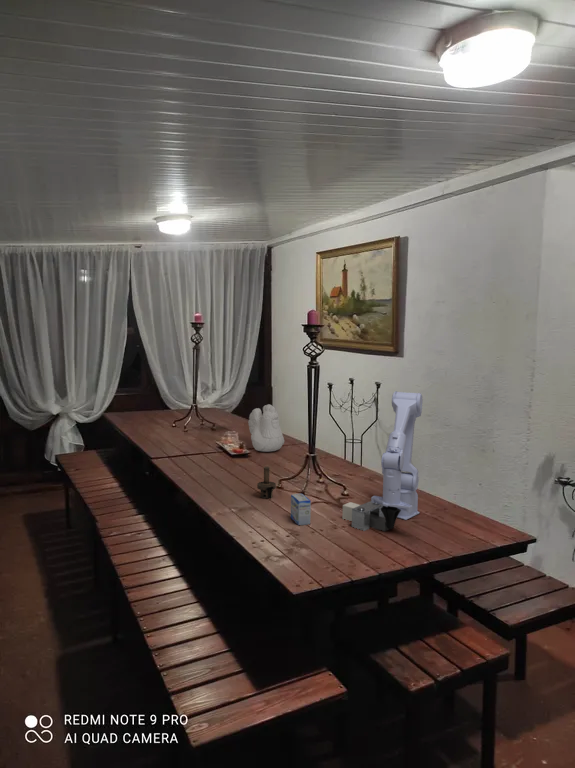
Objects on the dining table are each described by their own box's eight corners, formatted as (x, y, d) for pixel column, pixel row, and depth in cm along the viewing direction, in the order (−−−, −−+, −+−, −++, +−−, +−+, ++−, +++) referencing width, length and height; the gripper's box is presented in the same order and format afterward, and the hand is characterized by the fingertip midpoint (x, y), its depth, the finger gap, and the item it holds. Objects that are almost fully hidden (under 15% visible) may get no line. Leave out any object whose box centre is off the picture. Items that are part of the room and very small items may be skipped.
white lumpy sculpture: (288, 453, 288) (289, 405, 285) (260, 456, 281) (260, 407, 278) (269, 442, 310) (269, 398, 307) (242, 445, 304) (242, 400, 301)
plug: (350, 515, 200) (350, 502, 199) (391, 528, 188) (391, 513, 187) (342, 519, 196) (342, 505, 196) (383, 532, 185) (384, 517, 184)
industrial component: (278, 499, 217) (278, 468, 215) (261, 501, 214) (261, 470, 213) (270, 491, 226) (270, 462, 224) (253, 493, 223) (253, 464, 221)
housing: (372, 517, 198) (372, 499, 197) (384, 521, 194) (384, 502, 193) (351, 527, 189) (352, 507, 188) (363, 531, 186) (364, 511, 185)
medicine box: (290, 518, 197) (290, 494, 196) (302, 516, 198) (302, 492, 197) (298, 526, 190) (298, 501, 188) (310, 524, 191) (311, 499, 190)
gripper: (366, 486, 186) (365, 525, 187) (404, 495, 176) (403, 537, 178) (378, 481, 191) (377, 519, 193) (416, 490, 181) (414, 531, 183)
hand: (390, 528), depth 185 cm, fingers closed
